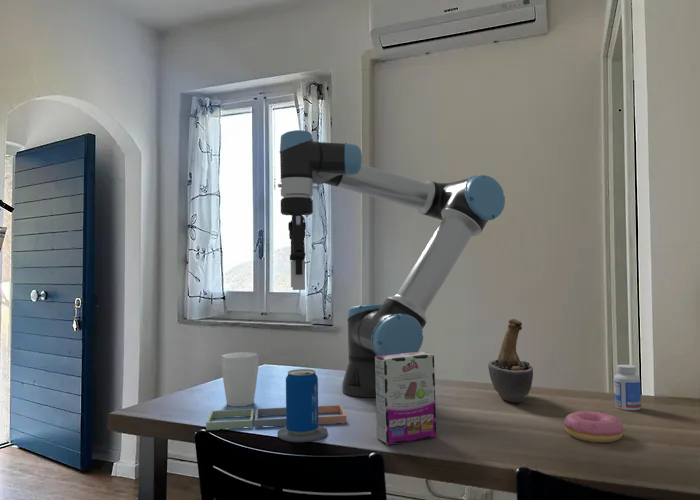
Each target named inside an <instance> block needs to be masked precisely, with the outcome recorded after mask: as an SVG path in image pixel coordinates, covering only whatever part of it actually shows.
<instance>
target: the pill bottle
mask: <svg viewBox="0 0 700 500" xmlns="http://www.w3.org/2000/svg"><path fill="white" fill-rule="evenodd" d="M616 371H617V374H615V375H614V377H613V378H614V379H613V380H614V401H615V402H614V404H615V407H616V408H617V409H619V410H623V411H640V410H641V409H642V395H641V379H640V376H638V375H636V373H637V366H636V365H632V364H617V365H616Z"/></svg>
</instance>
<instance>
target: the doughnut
mask: <svg viewBox="0 0 700 500" xmlns="http://www.w3.org/2000/svg"><path fill="white" fill-rule="evenodd" d="M563 425H564V427H565V428H564V429H565V431H566V433H567V434H568V435H570V436H571V437H573V438H574V437H575V439H577V440H580V441H583V440H584V441H585V442H588V441H590V443H596V442H598V443H600V444H602V443H603V444H606V442H609V443H614V442H616V441H619V440H620V439H622V438H623V436H624V431H625V427H624V424H623V423H622V421H621V420H620V419H619V418H617V417H616V416H614V415H611V414H609V413H608V414H607V413H606V412H601V411H600V412H599V411H591V410H590V411H586V410H585V411H584V410H582V411H581V410H579V411H575V412H572V413H569V414H567V415H566V416H565V418H564V419H563ZM584 441H583V442H584Z"/></svg>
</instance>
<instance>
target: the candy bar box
mask: <svg viewBox="0 0 700 500" xmlns="http://www.w3.org/2000/svg"><path fill="white" fill-rule="evenodd" d="M435 375H436V374H435V354H433V353H431V352H430V353H429V352H427V351H418V352H413V353H402V354H393V355H383V356H375V380H376V397H375V407H376V408H375V409H376V411H375V412H376V415H375V416H376V438H377V440H379V441H380V440H381V441H380V442H382V441H383V442H384V444H385V443H386V444H385V445H387V446H391V445H390V444H393V445H396V444H395V443H399V444H403V443H402V442H405V443H409V442H408V441H411V442H414V441H413V440H417V441H420V440H419V439H422V440H427V439H426V438H428V439H433V437H434V438H437V413H436V412H437V410H436V409H437V408H436V406H437V405H436V379H435V378H436V377H435ZM383 442H382V443H383Z"/></svg>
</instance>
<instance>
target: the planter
mask: <svg viewBox="0 0 700 500" xmlns="http://www.w3.org/2000/svg"><path fill="white" fill-rule="evenodd" d="M522 325H523V323H522V321H520V320H518V319H516V318H513V319H512V318H511V319H508V325H507V326H508V327H507V329H506V331H505V334H504V337H503V339H502V343H501V346H500V351H499V353H498V357H497V359H494V360H491V361H489V362H488V374H489V377H490V380H491V383H492V386H493V389H494V391H496V392H497V393H498V395H499V396H500V398H502V400H504V401H506V402H508V403H515V404H519V403H521V402H523V401H524V400H525V399H526V397H527V396H528V395H529V393H530V391H531V389H532V385H533V377H534V371H533V370H534V368H533V367H532V366H531V365H530V362H528V361H526V360H524V361H522V360H520V357H519V355H518V353H517V342H518V338H519V334H520V331H521V330H522V329H523V326H522Z"/></svg>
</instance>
